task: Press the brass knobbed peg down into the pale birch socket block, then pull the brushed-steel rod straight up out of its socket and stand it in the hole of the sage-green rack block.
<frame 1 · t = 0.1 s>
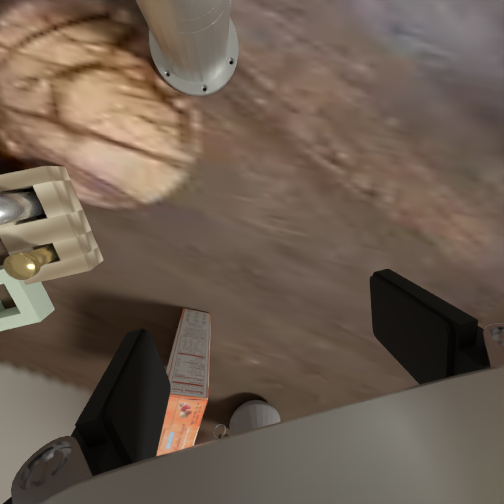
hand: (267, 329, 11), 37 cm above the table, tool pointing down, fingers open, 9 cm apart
steel rod: (45, 201, 42), resting in socket block
socket block: (55, 222, 43), on the table
rack block: (13, 291, 45), on the table
cracker box: (190, 338, 53), on the table
brass knobbed peg: (38, 258, 37), point 7 cm above the table, slide at 0.0 cm
coffee pot: (242, 398, 59), on the table
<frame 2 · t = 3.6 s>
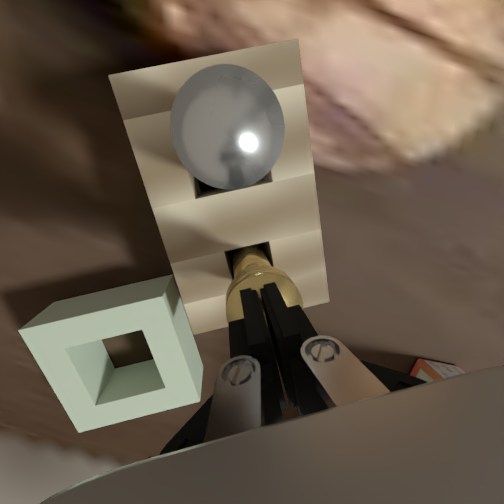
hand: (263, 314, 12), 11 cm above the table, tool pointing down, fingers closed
steel rod: (223, 153, 19), resting in socket block
socket block: (234, 199, 21), on the table
rack block: (134, 336, 23), on the table
cracker box: (409, 406, 30), on the table
brass knobbed peg: (254, 278, 15), point 7 cm above the table, slide at 0.1 cm, touching gripper
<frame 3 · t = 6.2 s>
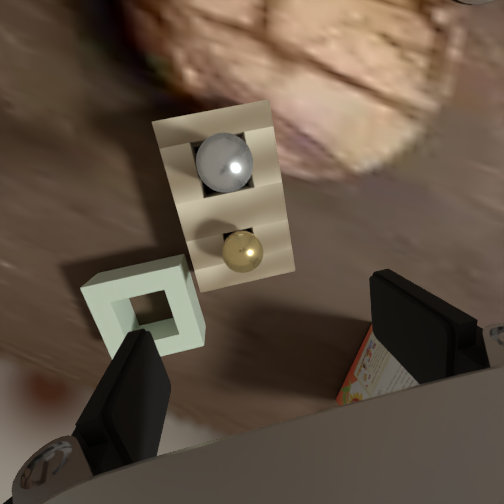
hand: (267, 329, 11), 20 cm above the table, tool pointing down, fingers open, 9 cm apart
steel rod: (222, 167, 28), resting in socket block
socket block: (229, 199, 29), on the table
rack block: (154, 301, 31), on the table
cracker box: (368, 363, 39), on the table
brass knobbed peg: (239, 242, 26), point 4 cm above the table, slide at 2.9 cm
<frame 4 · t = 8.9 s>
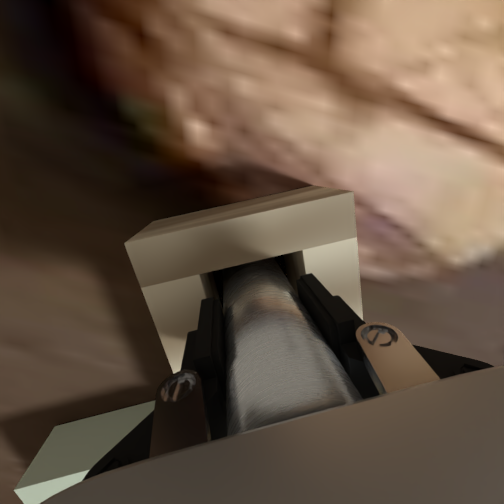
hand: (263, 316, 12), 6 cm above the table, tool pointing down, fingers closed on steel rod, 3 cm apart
steel rod: (249, 269, 17), resting in socket block, touching gripper
socket block: (259, 314, 18), on the table
rack block: (144, 454, 21), on the table
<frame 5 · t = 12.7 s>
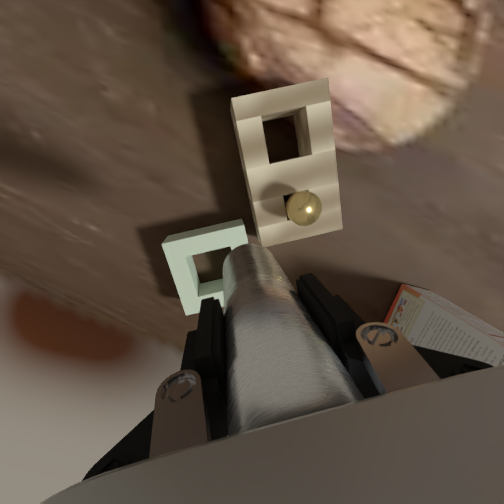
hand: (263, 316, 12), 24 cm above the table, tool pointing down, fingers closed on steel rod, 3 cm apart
steel rod: (249, 269, 17), point 18 cm above the table, touching gripper
socket block: (282, 169, 33), on the table
rack block: (214, 261, 36), on the table
cracker box: (397, 322, 43), on the table
brass knobbed peg: (295, 204, 31), point 4 cm above the table, slide at 2.9 cm
when the fingers open (7 cm above the table, at t = 16.5 s): steel rod drops 1 cm, resting in rack block.
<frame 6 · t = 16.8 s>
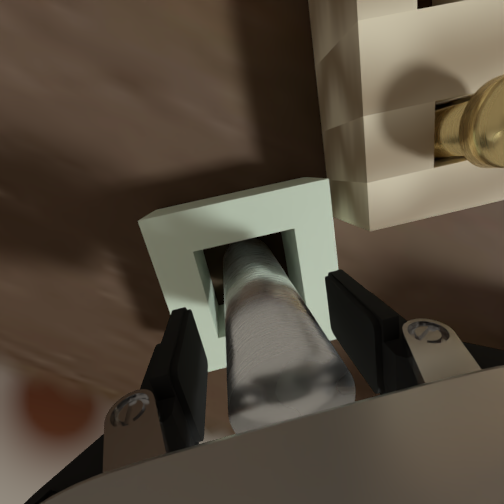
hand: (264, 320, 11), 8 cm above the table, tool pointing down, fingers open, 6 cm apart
steel rod: (247, 261, 18), resting in rack block
socket block: (394, 72, 16), on the table
rack block: (247, 262, 18), on the table
brass knobbed peg: (445, 132, 13), point 4 cm above the table, slide at 2.9 cm
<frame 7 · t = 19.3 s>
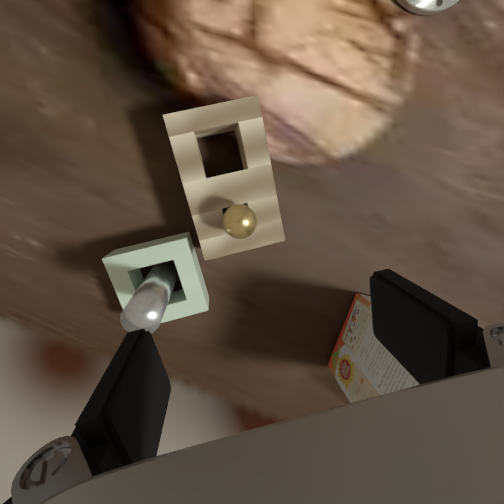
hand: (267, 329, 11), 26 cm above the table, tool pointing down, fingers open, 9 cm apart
steel rod: (164, 274, 36), resting in rack block
socket block: (227, 182, 33), on the table
rack block: (164, 274, 36), on the table
cracker box: (354, 331, 43), on the table
brass knobbed peg: (237, 217, 31), point 4 cm above the table, slide at 2.9 cm
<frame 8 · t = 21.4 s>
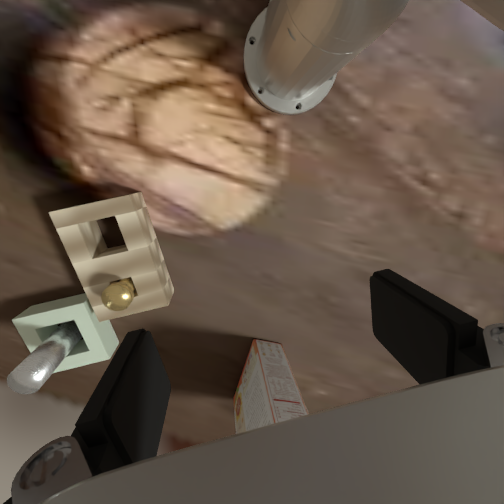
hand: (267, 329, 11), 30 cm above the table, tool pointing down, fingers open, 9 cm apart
steel rod: (77, 324, 42), resting in rack block
socket block: (126, 251, 39), on the table
rack block: (77, 325, 42), on the table
cracker box: (257, 369, 49), on the table
brass knobbed peg: (126, 286, 37), point 4 cm above the table, slide at 2.9 cm
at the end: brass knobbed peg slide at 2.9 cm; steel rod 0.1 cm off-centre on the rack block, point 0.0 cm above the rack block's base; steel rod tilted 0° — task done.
